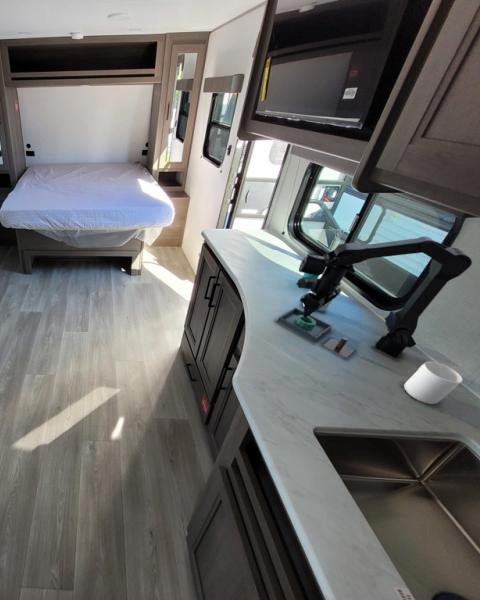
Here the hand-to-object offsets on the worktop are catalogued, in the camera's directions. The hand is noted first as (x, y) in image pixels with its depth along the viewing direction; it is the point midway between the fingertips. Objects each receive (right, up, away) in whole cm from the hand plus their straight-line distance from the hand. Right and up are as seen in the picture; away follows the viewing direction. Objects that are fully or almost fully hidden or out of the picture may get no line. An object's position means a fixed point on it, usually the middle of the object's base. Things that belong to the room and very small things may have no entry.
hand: (310, 312), depth 119 cm
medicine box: (+13, +1, +15) cm, 20 cm away
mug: (+19, -24, -20) cm, 37 cm away
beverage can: (+21, +12, +31) cm, 39 cm away
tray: (0, -6, +4) cm, 7 cm away
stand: (+6, -13, -6) cm, 15 cm away
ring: (0, -5, +4) cm, 6 cm away
